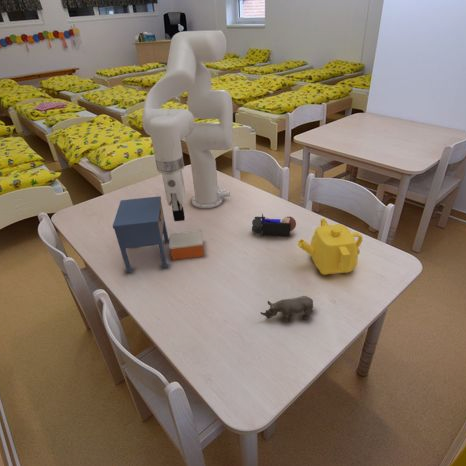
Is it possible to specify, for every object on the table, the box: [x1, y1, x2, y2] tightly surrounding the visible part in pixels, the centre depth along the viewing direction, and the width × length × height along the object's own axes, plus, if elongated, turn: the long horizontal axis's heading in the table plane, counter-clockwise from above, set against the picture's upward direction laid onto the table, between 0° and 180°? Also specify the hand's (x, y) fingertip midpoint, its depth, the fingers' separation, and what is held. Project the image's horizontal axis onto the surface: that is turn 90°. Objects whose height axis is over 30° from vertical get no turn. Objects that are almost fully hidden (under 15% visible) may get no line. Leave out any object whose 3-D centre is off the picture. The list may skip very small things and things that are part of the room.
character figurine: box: [251, 213, 297, 238], centre depth 114 cm, size 8×7×15 cm
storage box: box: [168, 229, 205, 261], centre depth 109 cm, size 10×8×5 cm
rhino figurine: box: [260, 295, 314, 323], centre depth 83 cm, size 4×14×6 cm, turn 97°
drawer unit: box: [112, 195, 170, 274], centre depth 104 cm, size 12×15×17 cm
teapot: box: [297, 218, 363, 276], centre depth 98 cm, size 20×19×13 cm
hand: (179, 219), depth 103 cm, fingers closed
